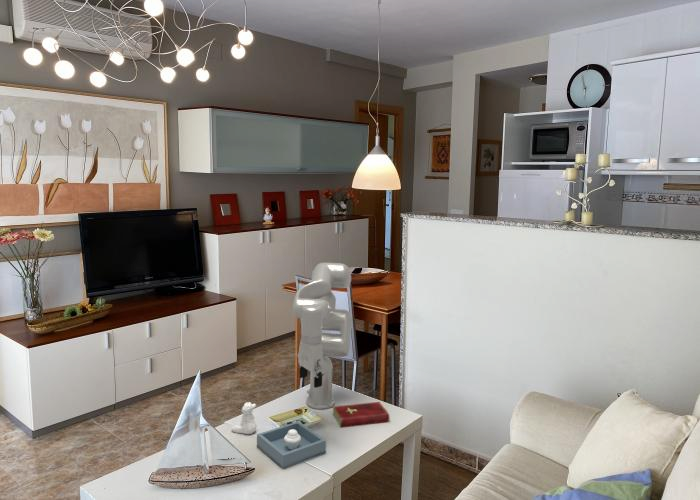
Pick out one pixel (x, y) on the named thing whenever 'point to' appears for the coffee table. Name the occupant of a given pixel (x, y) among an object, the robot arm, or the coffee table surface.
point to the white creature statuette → (246, 420)
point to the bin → (285, 457)
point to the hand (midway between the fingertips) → (310, 381)
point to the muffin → (292, 439)
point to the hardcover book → (360, 414)
